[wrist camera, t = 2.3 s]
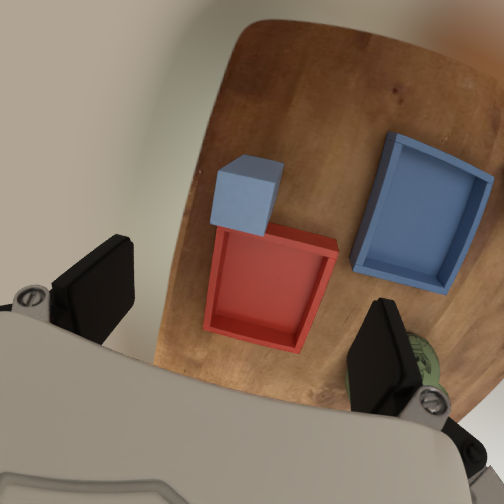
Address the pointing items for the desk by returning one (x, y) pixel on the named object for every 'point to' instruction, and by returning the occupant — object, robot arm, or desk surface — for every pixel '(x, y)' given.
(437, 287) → the blue tray
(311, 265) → the red tray
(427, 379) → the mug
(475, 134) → the desk surface
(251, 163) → the blue block
